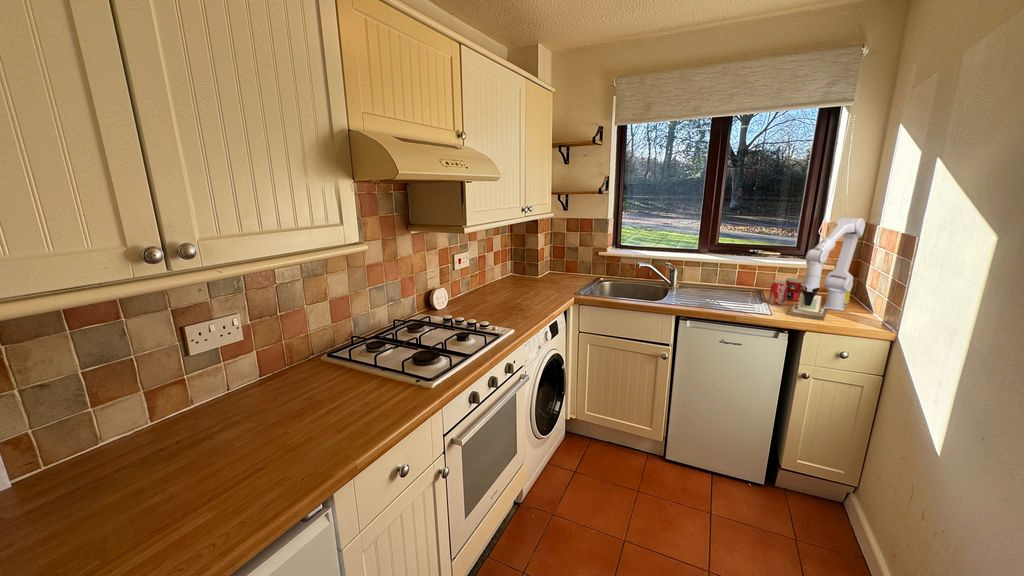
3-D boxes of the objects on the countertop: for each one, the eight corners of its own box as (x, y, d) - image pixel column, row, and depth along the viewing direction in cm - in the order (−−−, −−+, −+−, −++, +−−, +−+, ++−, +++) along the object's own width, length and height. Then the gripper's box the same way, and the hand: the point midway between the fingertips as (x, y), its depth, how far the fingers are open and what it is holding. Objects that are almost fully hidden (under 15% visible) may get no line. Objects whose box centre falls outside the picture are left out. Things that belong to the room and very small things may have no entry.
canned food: (779, 298, 223) (782, 278, 221) (795, 298, 223) (798, 278, 220) (788, 301, 216) (791, 281, 213) (804, 301, 215) (807, 281, 213)
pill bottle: (848, 307, 206) (852, 284, 203) (832, 304, 210) (836, 282, 207) (848, 304, 211) (852, 281, 208) (832, 302, 215) (836, 280, 212)
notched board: (793, 305, 209) (793, 300, 209) (827, 310, 200) (828, 305, 200) (786, 314, 194) (787, 309, 194) (823, 320, 186) (824, 315, 185)
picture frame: (798, 308, 200) (801, 292, 198) (818, 312, 195) (821, 295, 193) (796, 311, 196) (799, 295, 195) (817, 314, 191) (820, 297, 189)
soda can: (771, 306, 209) (774, 283, 206) (766, 302, 215) (769, 279, 212) (787, 306, 207) (790, 283, 204) (781, 303, 214) (785, 280, 211)
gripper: (804, 271, 199) (800, 299, 203) (800, 277, 189) (796, 305, 192) (823, 273, 195) (818, 301, 198) (819, 279, 184) (814, 308, 188)
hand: (808, 303), depth 195 cm, fingers open, 7 cm apart
